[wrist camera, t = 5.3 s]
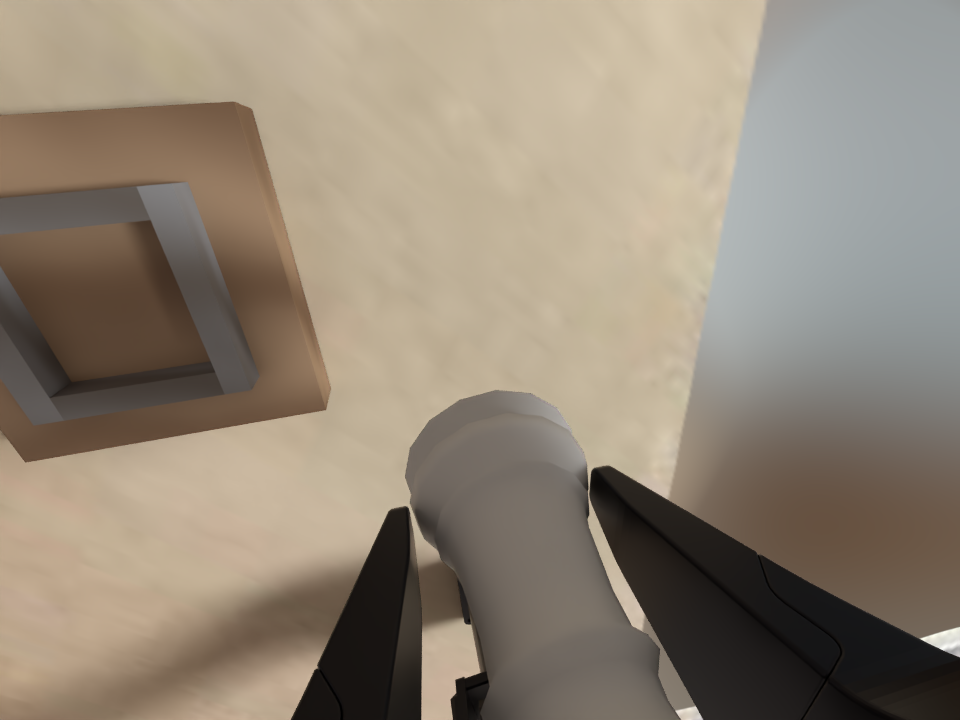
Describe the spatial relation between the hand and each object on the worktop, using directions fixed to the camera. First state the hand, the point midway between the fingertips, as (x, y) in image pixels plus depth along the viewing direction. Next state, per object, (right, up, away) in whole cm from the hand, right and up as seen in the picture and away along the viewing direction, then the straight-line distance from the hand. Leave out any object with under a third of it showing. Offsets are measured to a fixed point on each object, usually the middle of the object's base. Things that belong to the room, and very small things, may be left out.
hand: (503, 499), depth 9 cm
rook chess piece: (0, +1, +2) cm, 2 cm away
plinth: (-14, +6, +7) cm, 17 cm away
